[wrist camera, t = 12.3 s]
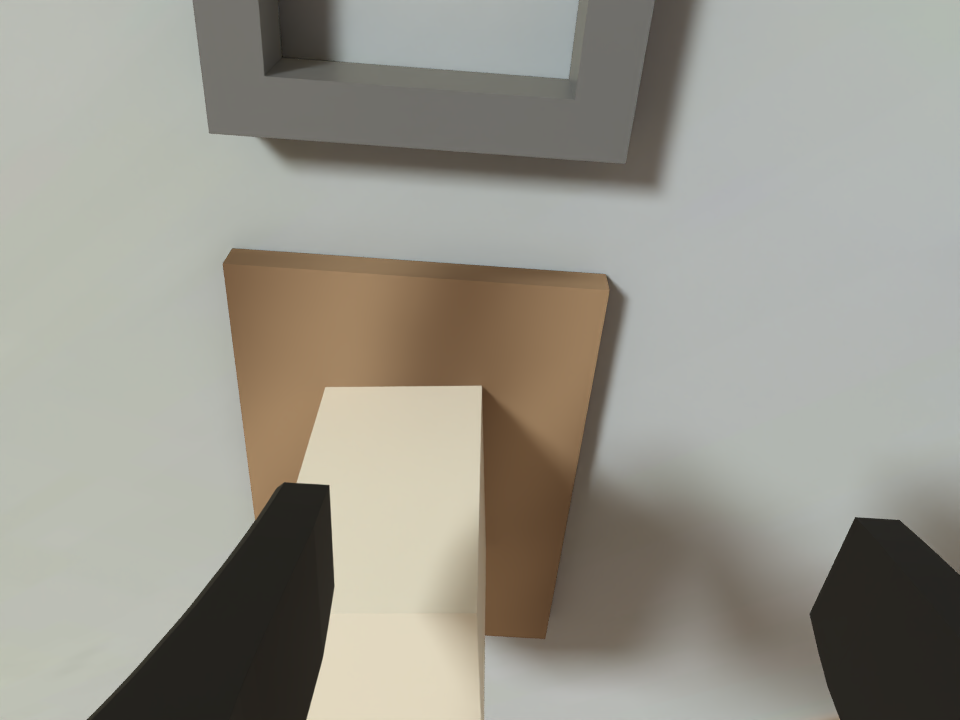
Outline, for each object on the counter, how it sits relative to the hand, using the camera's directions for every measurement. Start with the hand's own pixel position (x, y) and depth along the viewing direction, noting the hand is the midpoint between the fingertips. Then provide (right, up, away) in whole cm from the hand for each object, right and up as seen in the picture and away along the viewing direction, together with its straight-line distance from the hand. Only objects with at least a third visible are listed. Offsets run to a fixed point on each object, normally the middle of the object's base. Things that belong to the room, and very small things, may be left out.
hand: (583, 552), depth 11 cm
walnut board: (-3, 0, +12) cm, 12 cm away
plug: (-3, 0, +11) cm, 11 cm away
